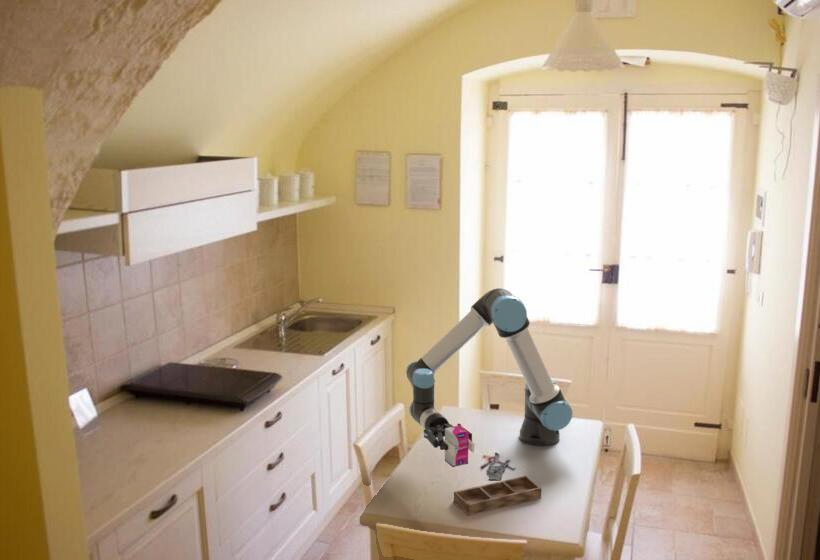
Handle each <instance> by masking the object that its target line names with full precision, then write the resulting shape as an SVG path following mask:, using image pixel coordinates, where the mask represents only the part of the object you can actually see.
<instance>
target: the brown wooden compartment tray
mask: <svg viewBox="0 0 820 560" xmlns="http://www.w3.org/2000/svg"><path fill="white" fill-rule="evenodd" d="M538 499H539V500H540V499H542V487H541V486H539V485H538V484H537V483H536V482H535V481H533V480H532V479H531V478H529V477H528V476H527V475H524V476H519V477H514V478H509V479H505V480H499V481H496V482H492V483H486V484H483V485H482V484H481V485H479V486H474V487H469V488H465V489H461V490H456V491H453V502H454V504H455V505H456V506H457V507H458V508H459V509H460V510H461V511H462V512H464V514H465V515H466V516H472V515H475V514H480V513H484V512H489V511H492V510H496V509H501V508H505V507H510V506H513V505H514V506H515V505H519V504H521V503H526V502H530V501H535V500H538Z"/></svg>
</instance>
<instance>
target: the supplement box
mask: <svg viewBox="0 0 820 560" xmlns="http://www.w3.org/2000/svg"><path fill="white" fill-rule="evenodd" d="M453 426H454V427H449V428H445V436H444V440H447V441H448V442H449V443H450V444H452V445H453V446H454V447H455V456H452V455H451V454H450V453H449V452H448V451H447V450H444V462H445V463H446V464H448V465H449V466H450V467H452V468H455V467H460V466H464V465H465V466H466V465H468V464H469V449H468V437H469V432H470V431H469V432H468V430H467V429H466V428H465V427H463V426H462V424H461V425H459V426H457V425H453ZM464 428H465V429H464Z"/></svg>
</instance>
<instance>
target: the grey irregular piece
mask: <svg viewBox="0 0 820 560" xmlns="http://www.w3.org/2000/svg"><path fill="white" fill-rule="evenodd" d="M500 456H501V454H500V453H498V452H497V451H495V452H494V457H493V458H494V461H493V460H492V461H491V462H490V463H489V465H488V467H487V469H486V476H488V478H489V479H488V481H489V480H497V481H502V476H503V473H504V472H505V470H506V467H507V465H508V464H509V463H510V459H507V460H505V462H502V464H500V465H495V464H496V462H497V461H499V459H500V458H501V457H500Z"/></svg>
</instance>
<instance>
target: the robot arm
mask: <svg viewBox="0 0 820 560" xmlns="http://www.w3.org/2000/svg"><path fill="white" fill-rule="evenodd" d="M492 324H493V326H494V328H495V329H496V331H497V334H498V336H499V337H500V338H502V339H504V340H505V341H506V343H507V345H508V348H509V349H510V351H511V353H512V355H513V358H514V360H515V363H516V365H517V366H518V368H519V371H520V373H521V375H522V377H523V378H524V381H525V386H524V418H523V421H522V424H521V427H520V430H519V439H520V440H521V441H523V442H524V443H526V444H529V445H531V446H541V447H542V446H550V445H555V444H557V443H558V442H559V441H560V435H561V434H560V431H561V430H563V429H564V428H566V427H567V426H568V425H569V424H570V423H571V420H572V418H573V409H572V407H571V405H570V403H569V402H567V401H566V399H565V396H564V395H563V392H562V390H561V388H560V386H559V385H558V384H557V383H556V381H555V380H553V379H552V378H551V376H550V374H549V372H548V370H547V367H546V366H545V363H544V362H543V359H542V357H541V355H540V352H539V350H538V348H537V346H536V344H535V342H534V340H533V337H532V335H531V333H530V331H529V327H530V324H531V322H530V320H529V317H528V313H527V307H526V306H525V304H524V303H523V301H522V300H521V299H520V298H518V297H517V296H515V295H513V294H512V293H511V292H510V290H507V289H505V288H499V287H498V288H493V289H491V290H489V291H487V292H486V293H484V294H483V295H482V296H481V297H479V299H478V300H477V301H476V302H475V303H473V304H472V305H471V307H470V311H469V312H468V313H467V314H466V315H465V316H463V318H461V320H459V321H458V322H457V323H456V324H455V325H454V326H453V327H452V328H451V329H450V330H448V332H447V333H445V334H444V336H442V338H440V340H439V341H437V342H436V343H435V344H434V345H433V346H432V347H431V348H430V349H429V350H428V351H427V352H426V353H425V354H424V355H422V357H420V358H419V359H418V360H414V361H412V362H410V363H409V364H408V365H407V367H406V372H405V373H406V377H407V380H408V381H409V383H410V385H411V386H410V387H411V388H412V396H413V397H412V402H411V403H410V406H409V409H408V411H409V414H410V416H411V417H412V418H413V420H414V421H415V422H416V423H418V424H419V425H420V426H421V427H422V429H423V438H425V439H426V440H428V442H429V443H430V444H431V446H433V448H435V449H438V447H439V449H440V450H441V451H443V450H444V451H445V450H447V451H448V452H449V453H450V454H451V455H452V456H455V447H454V446H453V445H452V444H450V443H449V442H448V441H447V440H445V428H449V427H454V426H455V425H453V424H451V423H449V421H448V419H447V418H446V417H445V416H443V415H442V414H441V413H440V412H439V411H438V410H437V409H436V408H435V383H436V380H435V373H436V372H438V371H439V370H440V368H441V367H443V366H444V365H445V364H446V363H447V362H448V361H449V360H450V359H452V357H454V356H455V355H456V353H458V352H459V351H460V350H462V348H463V347H464V346H466V344H468V342H470V341H471V340H472V339H473V338H474V337H475V336H476V335H477V334H478V333H480V332H481V330H482V329H484V328H485V327H490V325H492ZM459 425H461V426H462V424H461V423H457V424H456V426H459ZM463 428H464V429H466V428H465V427H463ZM467 431H468V430H467ZM468 432H469V437H468V451H470V452H471V453H475V443H474V442H473V433H471V432H470V431H468Z"/></svg>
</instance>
